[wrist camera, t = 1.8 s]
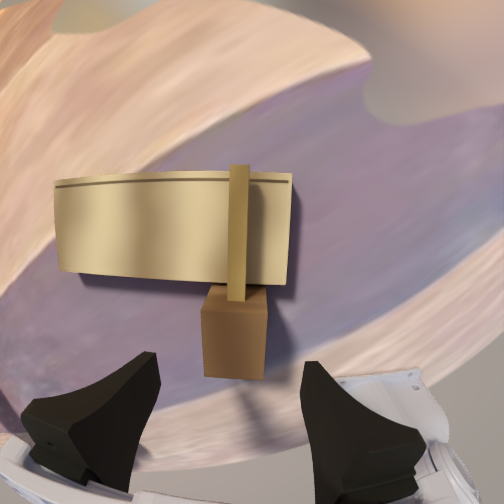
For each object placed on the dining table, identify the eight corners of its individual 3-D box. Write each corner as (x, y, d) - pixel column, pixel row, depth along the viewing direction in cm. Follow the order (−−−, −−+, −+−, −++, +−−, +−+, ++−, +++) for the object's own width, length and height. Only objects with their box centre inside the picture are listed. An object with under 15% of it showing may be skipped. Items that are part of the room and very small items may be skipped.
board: (288, 175, 18) (292, 173, 16) (282, 275, 20) (285, 285, 18) (68, 180, 18) (53, 180, 16) (73, 263, 20) (59, 270, 18)
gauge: (269, 170, 18) (275, 163, 13) (261, 334, 21) (263, 379, 15) (216, 168, 18) (200, 162, 13) (215, 332, 21) (204, 376, 15)
